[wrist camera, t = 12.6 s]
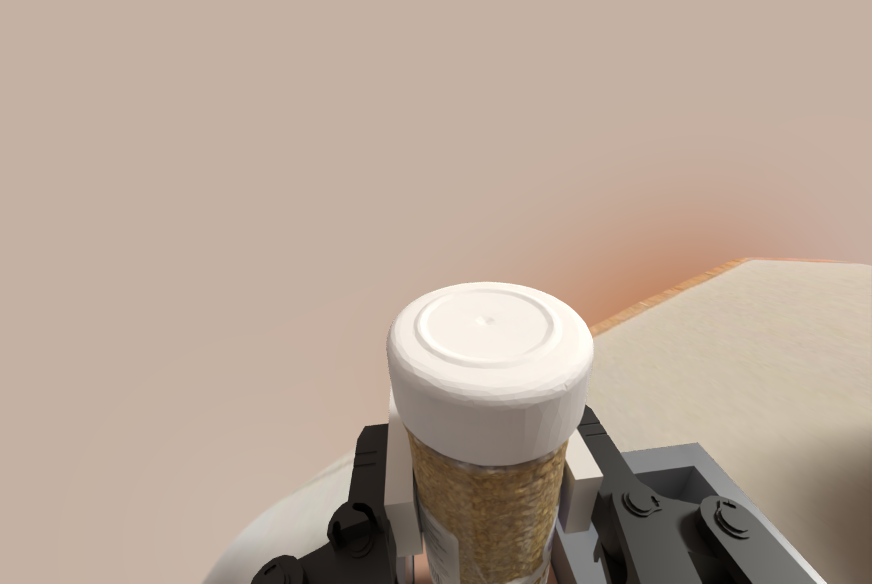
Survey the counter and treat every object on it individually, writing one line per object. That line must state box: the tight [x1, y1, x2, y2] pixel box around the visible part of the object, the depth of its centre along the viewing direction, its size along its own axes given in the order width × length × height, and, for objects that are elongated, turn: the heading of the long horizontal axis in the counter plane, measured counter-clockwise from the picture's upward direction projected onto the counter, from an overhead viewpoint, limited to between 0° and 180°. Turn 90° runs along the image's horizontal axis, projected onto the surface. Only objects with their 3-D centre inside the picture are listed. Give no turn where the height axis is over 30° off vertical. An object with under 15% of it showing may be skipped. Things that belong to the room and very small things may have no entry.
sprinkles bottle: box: [387, 282, 594, 584], centre depth 10 cm, size 5×5×14 cm
